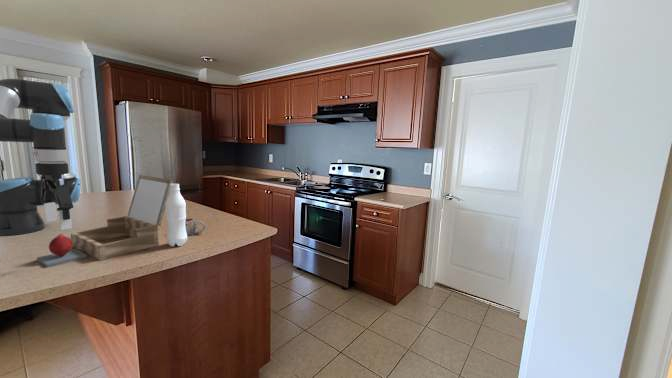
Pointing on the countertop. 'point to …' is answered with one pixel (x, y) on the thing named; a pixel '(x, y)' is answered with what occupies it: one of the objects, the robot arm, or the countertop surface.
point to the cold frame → (137, 229)
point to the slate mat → (61, 258)
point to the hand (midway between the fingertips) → (58, 224)
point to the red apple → (60, 245)
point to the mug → (192, 227)
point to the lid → (150, 199)
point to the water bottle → (176, 217)
